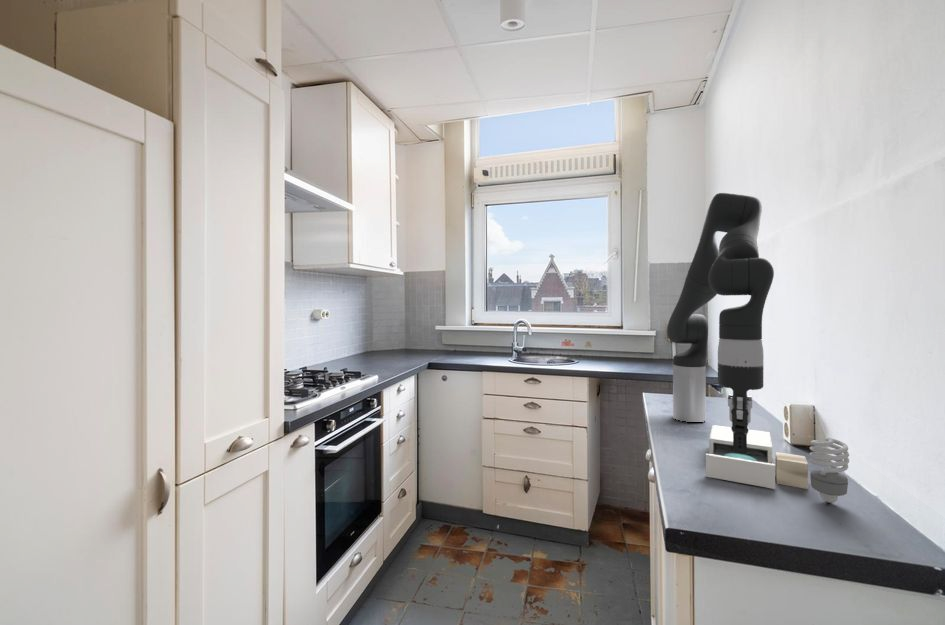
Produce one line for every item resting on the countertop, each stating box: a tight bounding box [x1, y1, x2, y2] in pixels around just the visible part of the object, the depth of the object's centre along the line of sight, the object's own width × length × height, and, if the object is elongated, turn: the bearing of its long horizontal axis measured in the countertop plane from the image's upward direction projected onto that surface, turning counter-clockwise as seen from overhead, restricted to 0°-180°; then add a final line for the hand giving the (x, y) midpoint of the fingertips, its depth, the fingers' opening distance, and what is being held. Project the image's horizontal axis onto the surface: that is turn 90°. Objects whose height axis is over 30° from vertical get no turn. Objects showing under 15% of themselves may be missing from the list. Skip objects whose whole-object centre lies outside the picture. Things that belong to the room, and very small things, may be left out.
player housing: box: [708, 424, 773, 464], centre depth 102 cm, size 13×12×6 cm
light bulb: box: [809, 436, 850, 504], centre depth 79 cm, size 6×6×12 cm
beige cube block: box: [774, 451, 809, 490], centre depth 89 cm, size 5×5×5 cm
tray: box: [705, 449, 776, 490], centre depth 94 cm, size 13×12×5 cm
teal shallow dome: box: [724, 453, 757, 461], centre depth 92 cm, size 6×6×2 cm
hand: (739, 451), depth 84 cm, fingers closed
